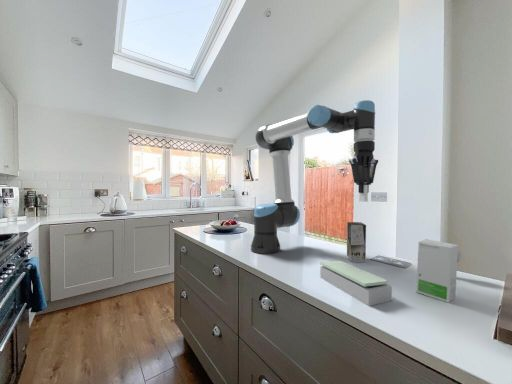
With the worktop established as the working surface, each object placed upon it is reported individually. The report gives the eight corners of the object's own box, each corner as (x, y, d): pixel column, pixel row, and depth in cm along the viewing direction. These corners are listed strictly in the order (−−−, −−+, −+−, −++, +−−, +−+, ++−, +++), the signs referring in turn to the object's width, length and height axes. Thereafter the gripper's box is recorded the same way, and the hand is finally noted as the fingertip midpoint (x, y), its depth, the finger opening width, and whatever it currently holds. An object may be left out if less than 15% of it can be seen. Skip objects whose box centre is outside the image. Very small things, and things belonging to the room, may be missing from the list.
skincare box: (415, 292, 71) (416, 241, 70) (423, 287, 75) (424, 238, 74) (450, 303, 64) (451, 246, 64) (457, 297, 68) (458, 243, 68)
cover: (320, 264, 82) (320, 262, 82) (339, 262, 85) (339, 260, 85) (364, 286, 63) (364, 283, 63) (388, 283, 66) (388, 280, 66)
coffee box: (366, 262, 99) (366, 224, 99) (350, 261, 101) (350, 224, 100) (361, 256, 108) (361, 221, 108) (346, 255, 109) (346, 221, 109)
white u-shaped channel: (320, 277, 82) (320, 266, 82) (339, 274, 85) (339, 263, 85) (368, 305, 62) (368, 290, 62) (391, 300, 65) (391, 286, 65)
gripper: (358, 138, 87) (357, 202, 87) (384, 141, 91) (383, 201, 91) (344, 142, 94) (343, 201, 94) (369, 144, 98) (368, 200, 98)
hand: (363, 201), depth 93 cm, fingers closed
